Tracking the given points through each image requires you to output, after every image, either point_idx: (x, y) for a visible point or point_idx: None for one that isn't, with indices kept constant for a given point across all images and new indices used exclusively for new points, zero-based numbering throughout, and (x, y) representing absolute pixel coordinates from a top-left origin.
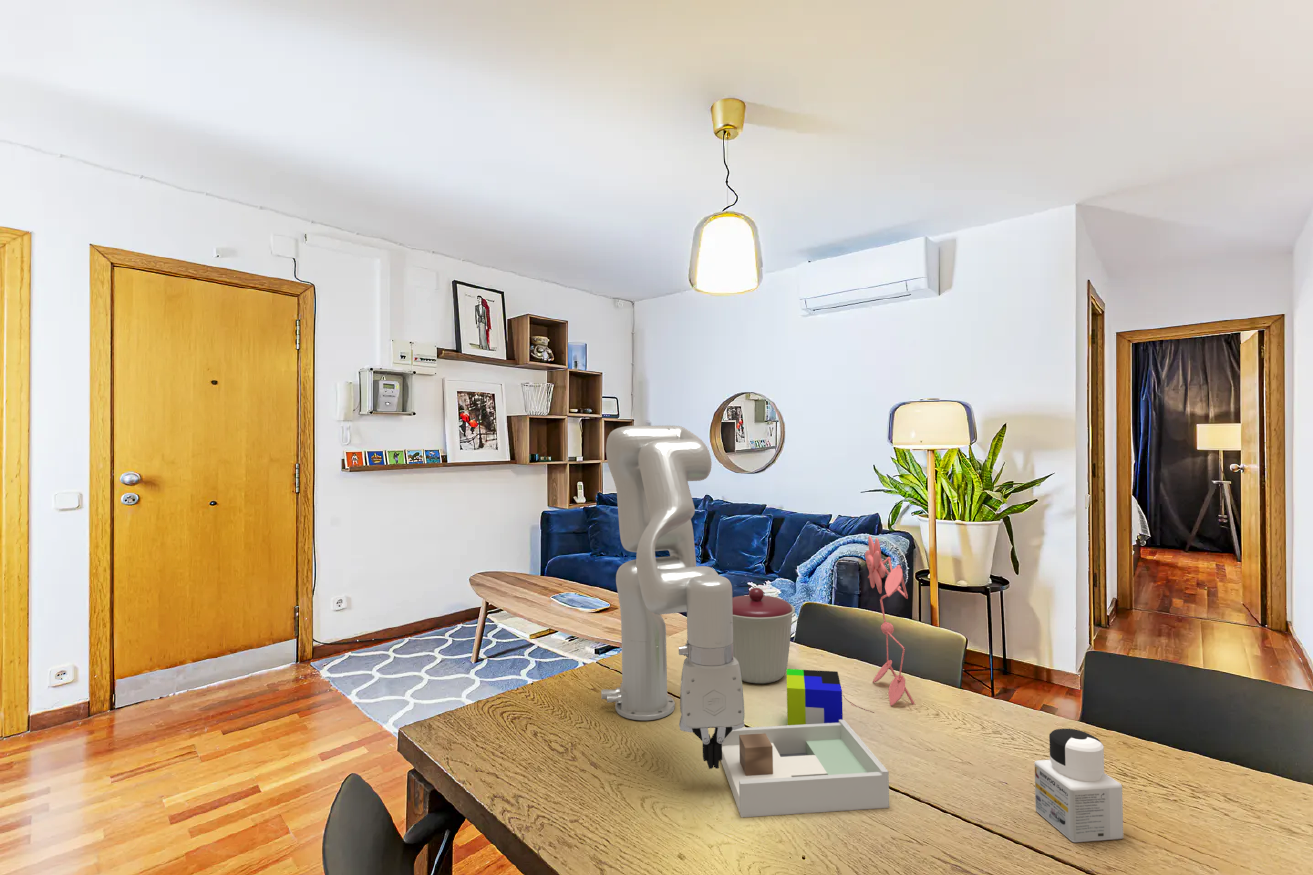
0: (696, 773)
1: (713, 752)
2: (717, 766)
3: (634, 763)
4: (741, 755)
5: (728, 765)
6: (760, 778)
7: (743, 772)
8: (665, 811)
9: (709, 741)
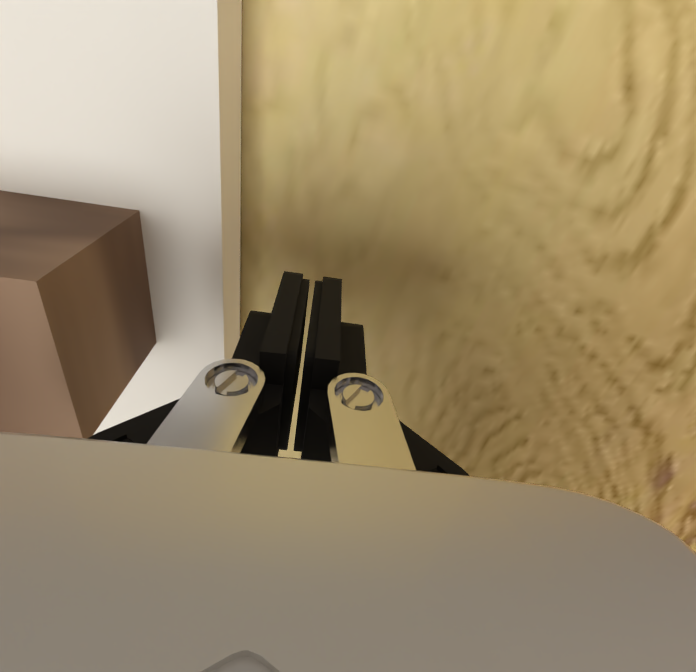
0: None
1: (300, 342)
2: (291, 275)
3: (540, 456)
4: (125, 333)
5: (219, 325)
6: (47, 158)
7: (148, 246)
8: (610, 122)
9: (331, 382)
